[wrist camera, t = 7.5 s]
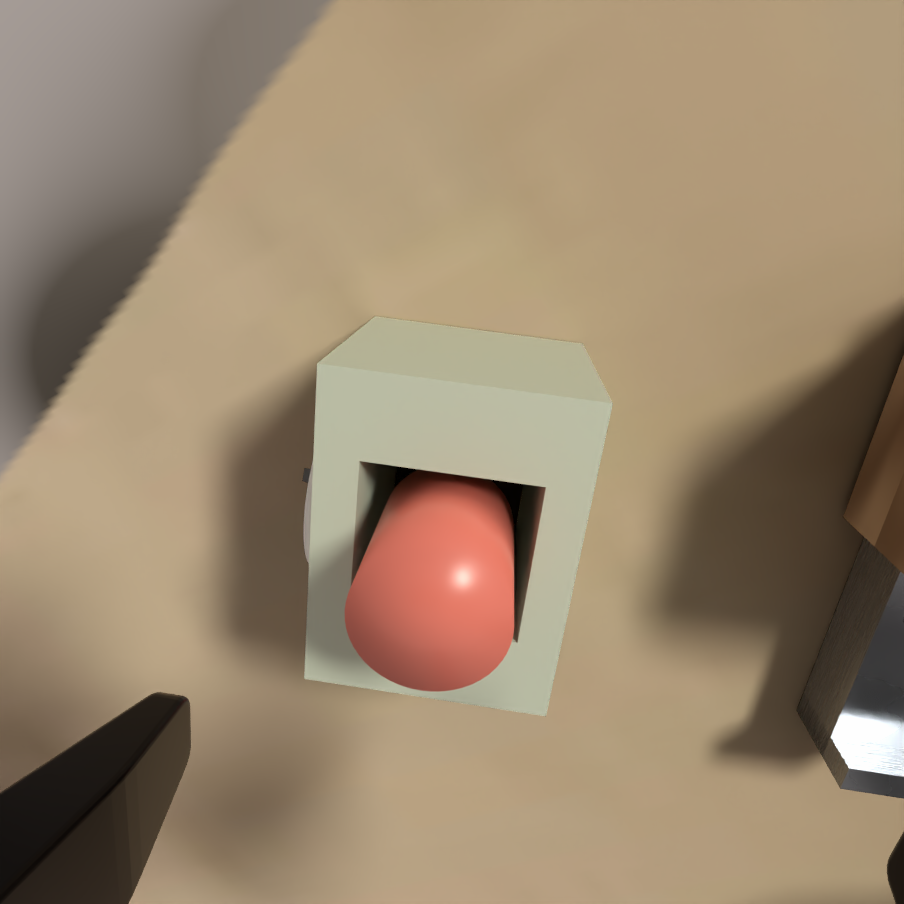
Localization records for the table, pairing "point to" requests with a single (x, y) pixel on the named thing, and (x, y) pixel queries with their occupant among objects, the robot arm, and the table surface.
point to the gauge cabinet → (461, 453)
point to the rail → (862, 681)
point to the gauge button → (436, 584)
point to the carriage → (883, 481)
